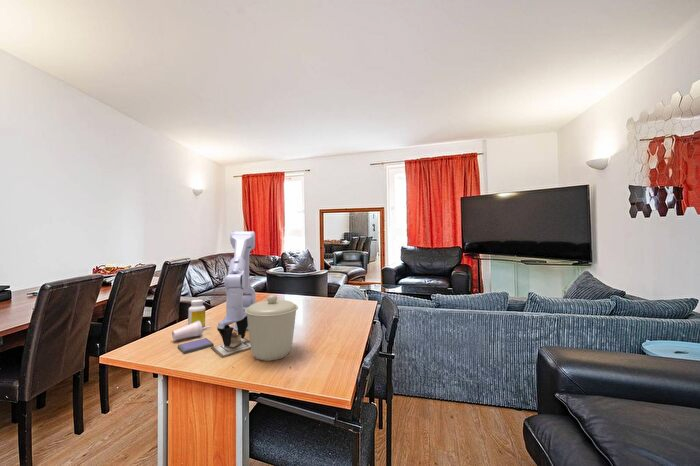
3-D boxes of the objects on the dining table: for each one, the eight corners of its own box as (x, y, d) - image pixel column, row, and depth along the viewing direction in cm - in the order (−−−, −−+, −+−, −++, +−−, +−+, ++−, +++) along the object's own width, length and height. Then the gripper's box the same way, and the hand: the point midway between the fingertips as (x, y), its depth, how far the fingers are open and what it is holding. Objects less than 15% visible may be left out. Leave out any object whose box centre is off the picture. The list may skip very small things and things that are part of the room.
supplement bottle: (208, 328, 123) (209, 300, 123) (194, 333, 117) (194, 302, 117) (198, 326, 126) (199, 298, 126) (184, 330, 120) (185, 301, 120)
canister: (232, 362, 90) (233, 298, 91) (263, 342, 108) (264, 288, 108) (281, 369, 86) (282, 302, 86) (306, 347, 103) (306, 291, 103)
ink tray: (206, 340, 109) (206, 337, 109) (213, 346, 104) (213, 343, 104) (177, 347, 102) (177, 344, 102) (183, 354, 97) (183, 351, 97)
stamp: (232, 343, 105) (232, 331, 105) (241, 344, 104) (241, 332, 104) (223, 347, 101) (223, 335, 101) (233, 349, 100) (233, 336, 100)
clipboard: (246, 338, 111) (246, 336, 111) (259, 346, 104) (259, 344, 104) (210, 348, 102) (210, 346, 102) (222, 357, 94) (222, 355, 94)
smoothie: (177, 344, 105) (214, 332, 115) (174, 327, 106) (212, 316, 116) (172, 343, 109) (208, 332, 120) (169, 327, 110) (206, 317, 120)
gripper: (238, 300, 111) (238, 333, 110) (211, 309, 97) (210, 348, 97) (253, 301, 109) (253, 335, 108) (227, 311, 95) (227, 350, 95)
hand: (234, 341), depth 102 cm, fingers open, 7 cm apart
